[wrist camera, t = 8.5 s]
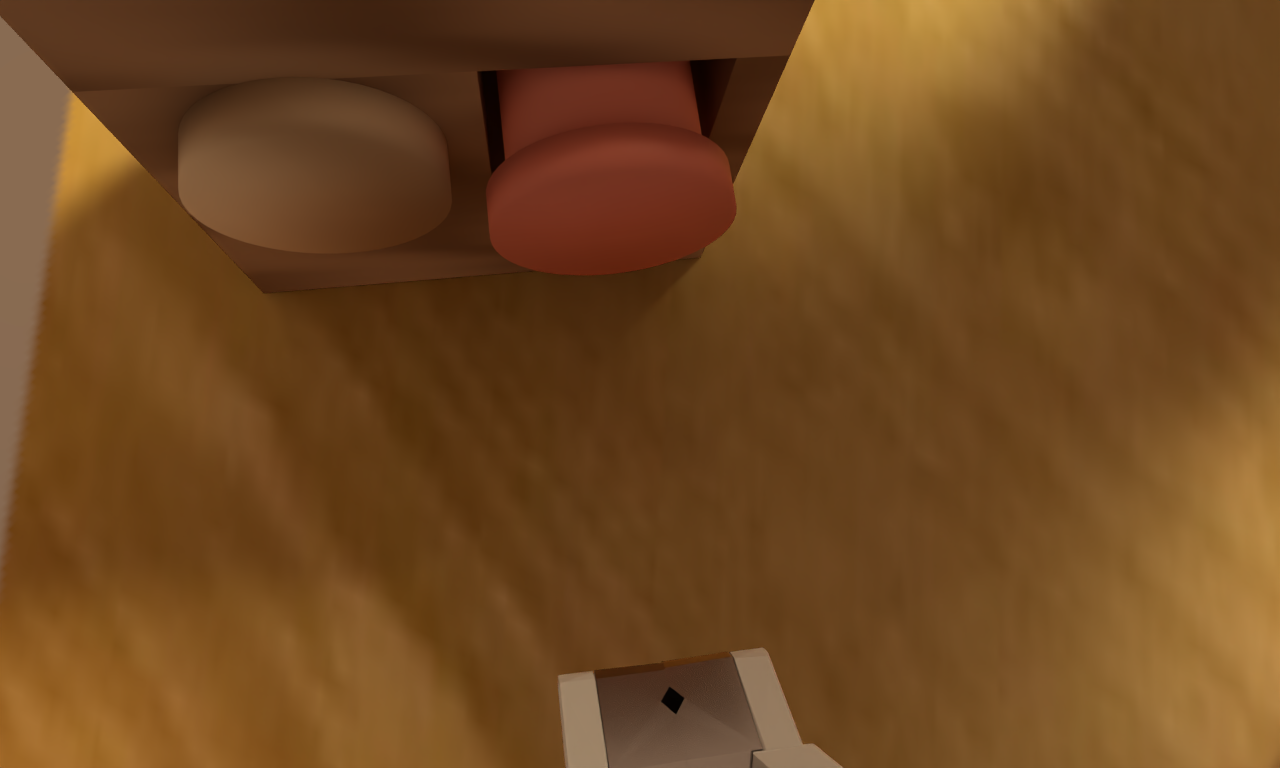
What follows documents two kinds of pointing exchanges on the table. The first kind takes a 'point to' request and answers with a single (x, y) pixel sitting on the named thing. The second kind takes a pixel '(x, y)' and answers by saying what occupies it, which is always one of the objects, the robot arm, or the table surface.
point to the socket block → (372, 110)
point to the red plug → (605, 169)
